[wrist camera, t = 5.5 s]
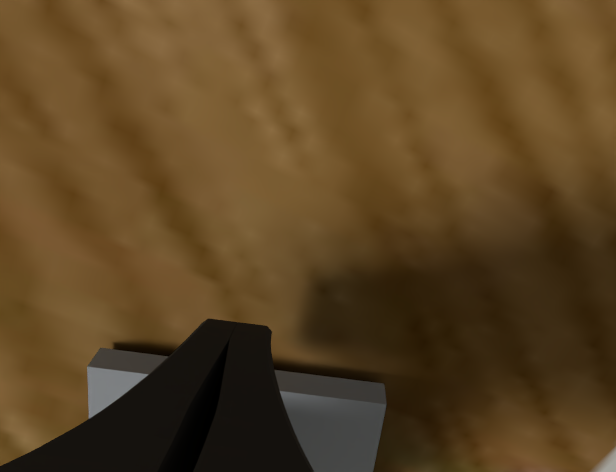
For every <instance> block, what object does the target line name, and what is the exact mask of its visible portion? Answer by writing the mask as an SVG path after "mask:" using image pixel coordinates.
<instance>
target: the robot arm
mask: <svg viewBox="0 0 616 472" xmlns="http://www.w3.org/2000/svg"><path fill="white" fill-rule="evenodd" d="M271 334H272V331H271V330H270V329H269V328H268V327H267V326H263V325H255V324H247V323H239V322H238V323H237V322H231V321H223V320H215V319H207V320H206V321H204V322H203V323H202V324H201V325H200V326H199V327H198V328H197V329H196V330H195V331H194V332H193V333H192V334H191V335H190V336H189V337H188V338H187V339H186V340H185V341H184V342H183V343H182V344H181V345H180V346H179V347H178V348H177V349H176V350H175V351H174V352H173V353H172V354H171V355H170V356H169V357H168V358H166V359H165V360H164V361H163V362H162V363H161V364H160V365H159V366H158V367H156V368H155V369H154V370H153V371H152V372H151V373H150V374H149V375H147V376H146V377H145V378H144V379H142V380H141V381H140V382H139V383H137V384H136V385H135V386H134V387H132V388H131V389H130V390H129V391H127V392H126V393H125V394H124V395H122V396H121V397H120V398H118V399H117V400H116V401H114V402H113V403H112V404H110V405H109V406H107V407H106V408H104V409H103V410H102V411H100V412H99V413H97V414H96V415H94V416H93V417H91V418H90V419H88V420H87V421H85V422H83V423H82V424H80V425H79V426H77V427H75V428H73V429H72V430H70V431H68V432H66V433H64V434H63V435H61V436H59V437H57V438H55V439H54V440H52V441H50V442H48V443H46V444H44V445H43V446H41V447H39V448H37V449H35V450H33V451H31V452H29V453H27V454H25V455H23V456H21V457H19V458H17V459H15V460H13V461H11V462H8V463H6V464H4V465H2V466H0V472H314V470H313V468H312V467H311V465H310V463H309V461H308V459H307V457H306V455H305V453H304V451H303V449H302V447H301V445H300V443H299V441H298V439H297V436H296V434H295V432H294V429H293V427H292V424H291V422H290V419H289V417H288V414H287V411H286V409H285V406H284V403H283V400H282V397H281V393H280V390H279V386H278V382H277V379H276V375H275V371H274V366H273V360H272V354H271Z"/></svg>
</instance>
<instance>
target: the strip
mask: <svg viewBox="0 0 616 472" xmlns="http://www.w3.org/2000/svg"><path fill="white" fill-rule="evenodd" d="M168 357H169V356H161V355H153V354H145V353H138V352H130V351H122V350H114V349H106V348H100V349H99V350H98V352H97V353H96V355H95V356H94V358H93V359H92V361H91V362H90V364H89V365H88V366H87V371H88V403H89V419H90V418H91V417H93V416H94V415H96V414H97V413H99V412H100V411H102V410H103V409H104V408H106V407H107V406H109V405H110V404H112V403H113V402H114V401H116V400H117V399H118V398H120V397H121V396H122V395H124V394H125V393H126V392H127V391H129V390H130V389H131V388H132V387H134V386H135V385H136V384H137V383H139V382H140V381H141V380H142V379H144V378H145V377H146V376H147V375H149V374H150V373H151V372H152V371H153V370H154V369H155V368H156V367H158V366H159V365H160V364H161V363H162V362H163V361H164V360H165V359H166V358H168ZM274 371H275V375H276V379H277V382H278V386H279V390H280V393H281V397H282V400H283V403H284V406H285V409H286V411H287V414H288V417H289V419H290V422H291V424H292V427H293V429H294V432H295V434H296V436H297V439H298V441H299V443H300V445H301V447H302V449H303V451H304V453H305V455H306V457H307V459H308V461H309V463H310V465H311V467H312V468H313V470H314V472H373V470H374V465H375V460H376V455H377V450H378V445H379V440H380V435H381V430H382V425H383V420H384V415H385V410H386V405H387V403H386V395H385V386H384V384H383V383H375V382H367V381H359V380H351V379H343V378H335V377H327V376H320V375H312V374H304V373H296V372H288V371H280V370H274Z"/></svg>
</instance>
